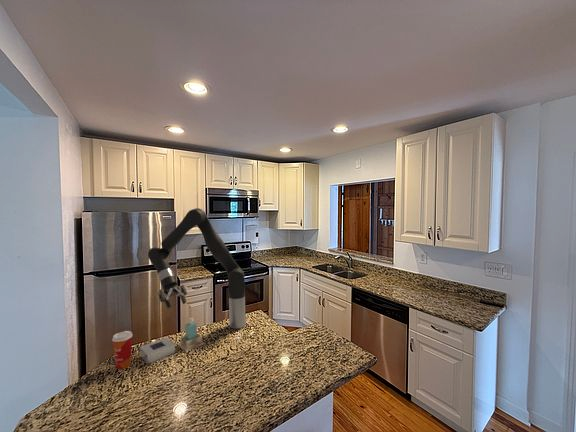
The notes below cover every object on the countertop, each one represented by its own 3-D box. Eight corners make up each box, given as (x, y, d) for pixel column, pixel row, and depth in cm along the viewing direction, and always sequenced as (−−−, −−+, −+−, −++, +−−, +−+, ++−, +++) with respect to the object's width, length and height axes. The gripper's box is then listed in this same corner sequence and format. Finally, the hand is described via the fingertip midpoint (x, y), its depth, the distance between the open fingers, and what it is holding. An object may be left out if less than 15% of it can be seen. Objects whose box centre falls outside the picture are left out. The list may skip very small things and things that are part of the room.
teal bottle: (193, 340, 132) (192, 316, 132) (196, 343, 130) (196, 318, 129) (185, 344, 129) (185, 318, 129) (189, 346, 127) (188, 320, 126)
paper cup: (111, 365, 113) (110, 334, 113) (131, 358, 119) (130, 328, 118) (115, 373, 108) (114, 340, 107) (135, 365, 113) (134, 334, 113)
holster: (195, 338, 137) (195, 330, 137) (205, 344, 130) (205, 336, 130) (177, 345, 129) (176, 337, 129) (186, 353, 122) (186, 344, 122)
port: (166, 346, 128) (166, 337, 128) (175, 354, 122) (174, 344, 121) (140, 357, 120) (139, 346, 120) (147, 365, 113) (147, 355, 113)
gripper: (157, 277, 135) (167, 305, 129) (182, 273, 147) (192, 298, 141) (151, 284, 138) (161, 312, 132) (176, 280, 150) (186, 305, 144)
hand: (177, 305), depth 136 cm, fingers open, 8 cm apart
